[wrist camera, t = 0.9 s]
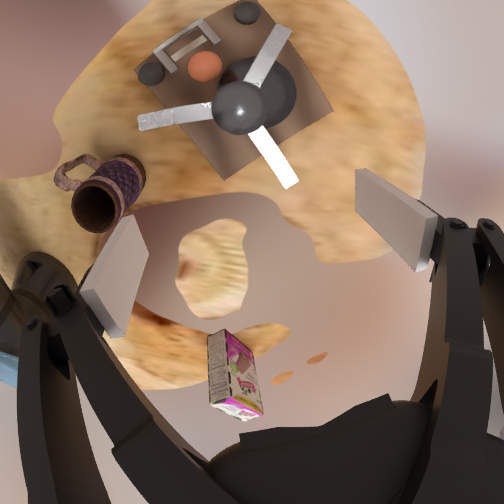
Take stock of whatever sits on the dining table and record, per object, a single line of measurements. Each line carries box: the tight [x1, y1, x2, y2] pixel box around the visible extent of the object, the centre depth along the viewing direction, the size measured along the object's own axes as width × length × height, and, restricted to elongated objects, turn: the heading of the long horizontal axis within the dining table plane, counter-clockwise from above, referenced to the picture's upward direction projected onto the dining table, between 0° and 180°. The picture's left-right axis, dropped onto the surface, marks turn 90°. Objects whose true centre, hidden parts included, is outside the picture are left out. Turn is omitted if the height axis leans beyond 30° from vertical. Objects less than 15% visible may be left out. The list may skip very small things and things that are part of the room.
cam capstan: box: [137, 23, 299, 189], centre depth 28 cm, size 19×16×8 cm
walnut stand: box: [134, 0, 334, 180], centre depth 28 cm, size 18×20×4 cm
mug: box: [54, 154, 146, 233], centre depth 29 cm, size 10×7×12 cm
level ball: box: [188, 51, 222, 82], centre depth 25 cm, size 4×4×4 cm
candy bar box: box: [207, 329, 264, 421], centre depth 49 cm, size 11×5×16 cm, turn 31°
